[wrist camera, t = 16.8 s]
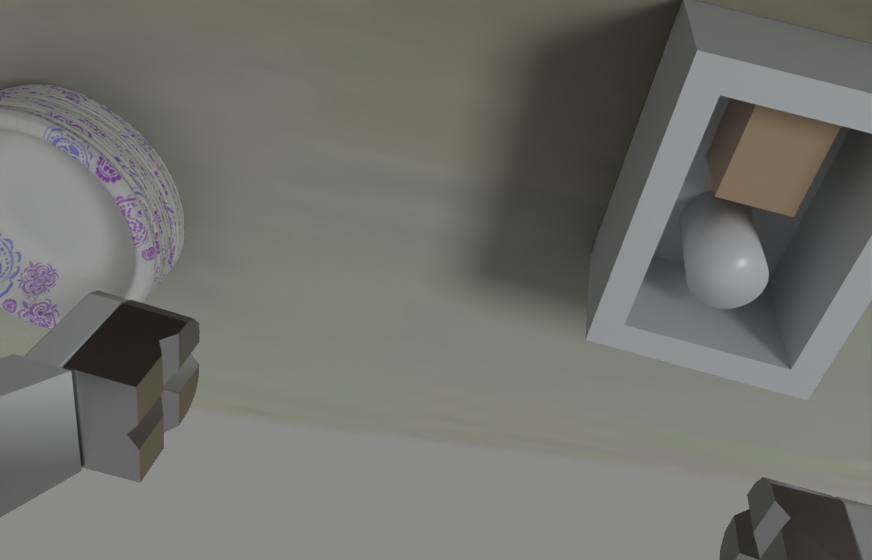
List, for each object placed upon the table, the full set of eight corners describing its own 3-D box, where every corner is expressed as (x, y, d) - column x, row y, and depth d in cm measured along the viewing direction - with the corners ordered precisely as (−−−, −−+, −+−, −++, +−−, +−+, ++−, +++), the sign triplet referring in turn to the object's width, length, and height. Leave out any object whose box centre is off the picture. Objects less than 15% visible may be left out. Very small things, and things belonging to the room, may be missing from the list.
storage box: (683, -3, 40) (697, 50, 33) (916, 55, 40) (984, 121, 32) (590, 254, 49) (585, 340, 42) (779, 304, 49) (807, 400, 41)
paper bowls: (245, 170, 51) (190, 230, 45) (150, 306, 59) (92, 373, 53) (38, 14, 48) (-53, 54, 41) (-33, 181, 56) (-119, 236, 49)
